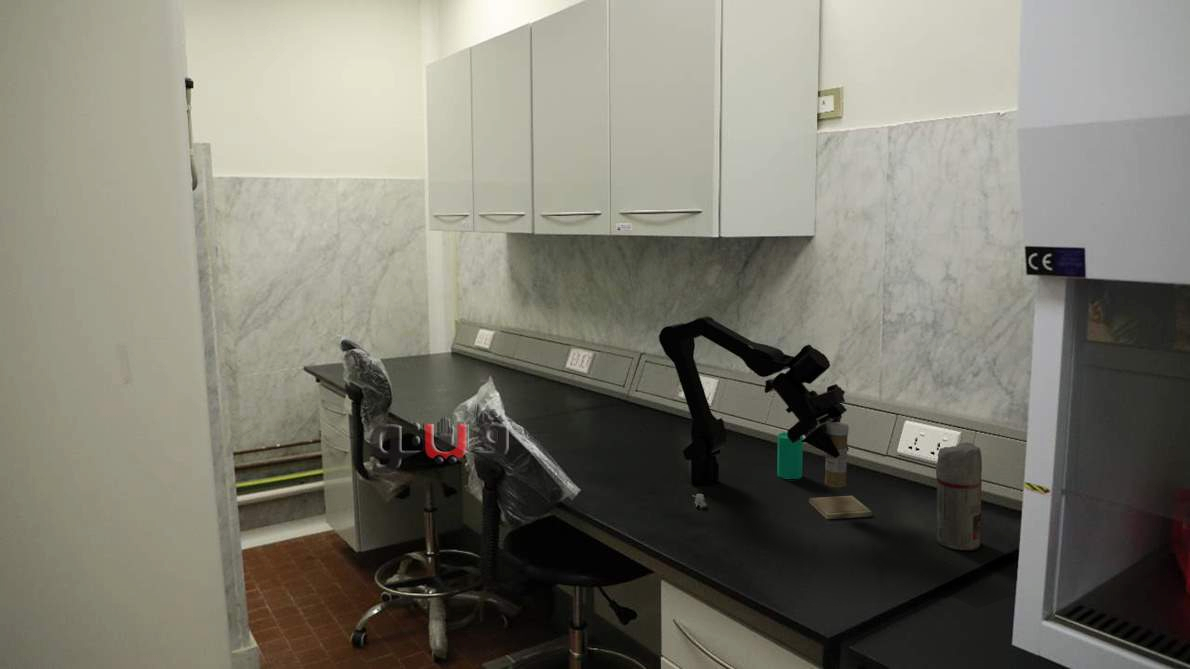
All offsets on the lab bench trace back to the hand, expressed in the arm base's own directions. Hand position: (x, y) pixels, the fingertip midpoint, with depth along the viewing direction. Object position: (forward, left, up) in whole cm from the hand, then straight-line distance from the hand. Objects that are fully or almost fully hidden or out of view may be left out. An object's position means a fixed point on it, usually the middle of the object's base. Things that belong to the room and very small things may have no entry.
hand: (842, 453), depth 172 cm
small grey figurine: (-30, +8, -14) cm, 34 cm away
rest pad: (+1, +2, -13) cm, 13 cm away
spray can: (+16, -19, -13) cm, 28 cm away
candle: (-2, +25, -13) cm, 29 cm away
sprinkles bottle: (-1, +1, -7) cm, 7 cm away
